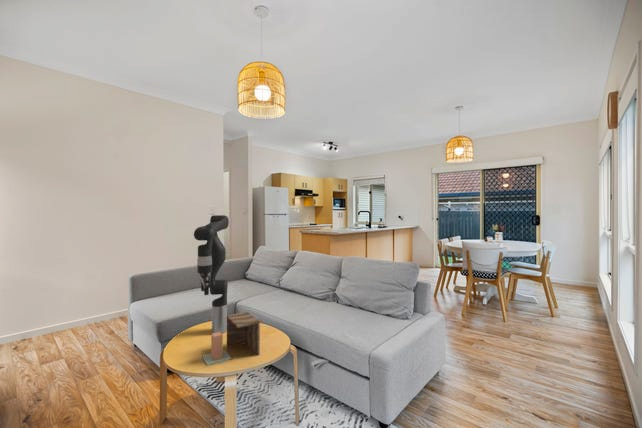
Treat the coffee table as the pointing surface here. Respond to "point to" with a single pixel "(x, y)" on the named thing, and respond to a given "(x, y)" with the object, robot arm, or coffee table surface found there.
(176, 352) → the coffee table surface
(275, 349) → the coffee table surface
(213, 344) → the terracotta block
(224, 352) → the sage mat
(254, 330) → the walnut box
